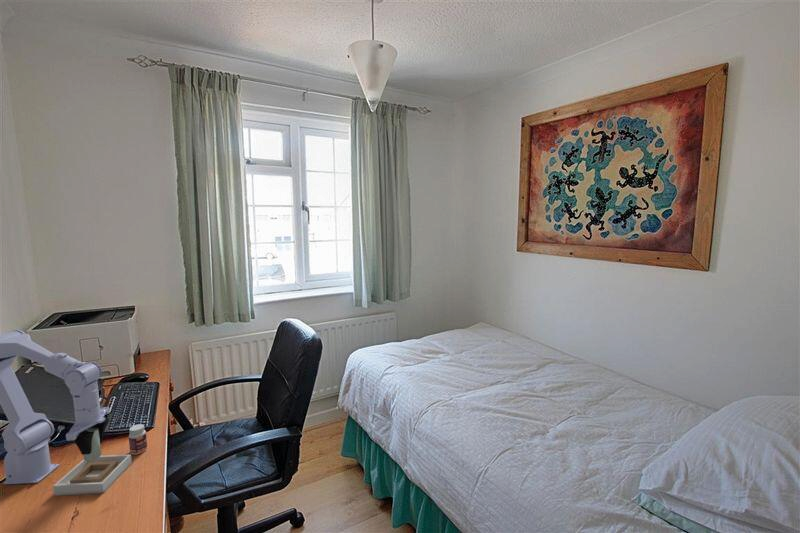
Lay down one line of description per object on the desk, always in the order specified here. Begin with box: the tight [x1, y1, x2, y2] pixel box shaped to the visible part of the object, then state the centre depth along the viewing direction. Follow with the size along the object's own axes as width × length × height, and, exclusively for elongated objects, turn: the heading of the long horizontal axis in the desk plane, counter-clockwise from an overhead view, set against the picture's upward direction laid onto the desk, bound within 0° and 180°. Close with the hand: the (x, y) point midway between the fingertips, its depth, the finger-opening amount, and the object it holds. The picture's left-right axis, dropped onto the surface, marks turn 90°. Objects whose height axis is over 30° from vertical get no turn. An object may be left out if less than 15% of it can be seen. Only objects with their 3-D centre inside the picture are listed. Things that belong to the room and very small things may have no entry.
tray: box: [52, 453, 133, 497], centre depth 113 cm, size 13×13×3 cm
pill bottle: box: [128, 423, 148, 456], centre depth 125 cm, size 5×5×8 cm
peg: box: [83, 428, 102, 461], centre depth 111 cm, size 4×4×8 cm
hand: (92, 448), depth 111 cm, fingers closed on peg, 4 cm apart
